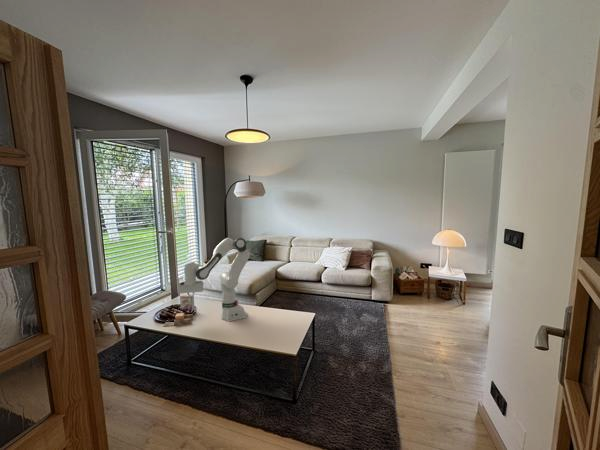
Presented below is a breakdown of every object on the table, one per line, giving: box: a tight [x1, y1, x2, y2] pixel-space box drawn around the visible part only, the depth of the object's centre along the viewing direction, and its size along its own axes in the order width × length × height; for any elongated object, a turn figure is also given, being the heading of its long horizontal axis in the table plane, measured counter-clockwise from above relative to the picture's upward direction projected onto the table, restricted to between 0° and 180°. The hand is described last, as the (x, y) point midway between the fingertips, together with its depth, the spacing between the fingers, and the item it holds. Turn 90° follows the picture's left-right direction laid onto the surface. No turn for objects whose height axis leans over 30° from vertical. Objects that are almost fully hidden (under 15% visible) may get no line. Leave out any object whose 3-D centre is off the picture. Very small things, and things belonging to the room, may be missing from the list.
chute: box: [163, 313, 194, 328], centre depth 212 cm, size 21×10×4 cm, turn 104°
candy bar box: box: [179, 293, 195, 311], centre depth 230 cm, size 11×5×16 cm, turn 84°
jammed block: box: [174, 312, 185, 320], centre depth 212 cm, size 6×6×6 cm
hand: (191, 297), depth 212 cm, fingers closed
